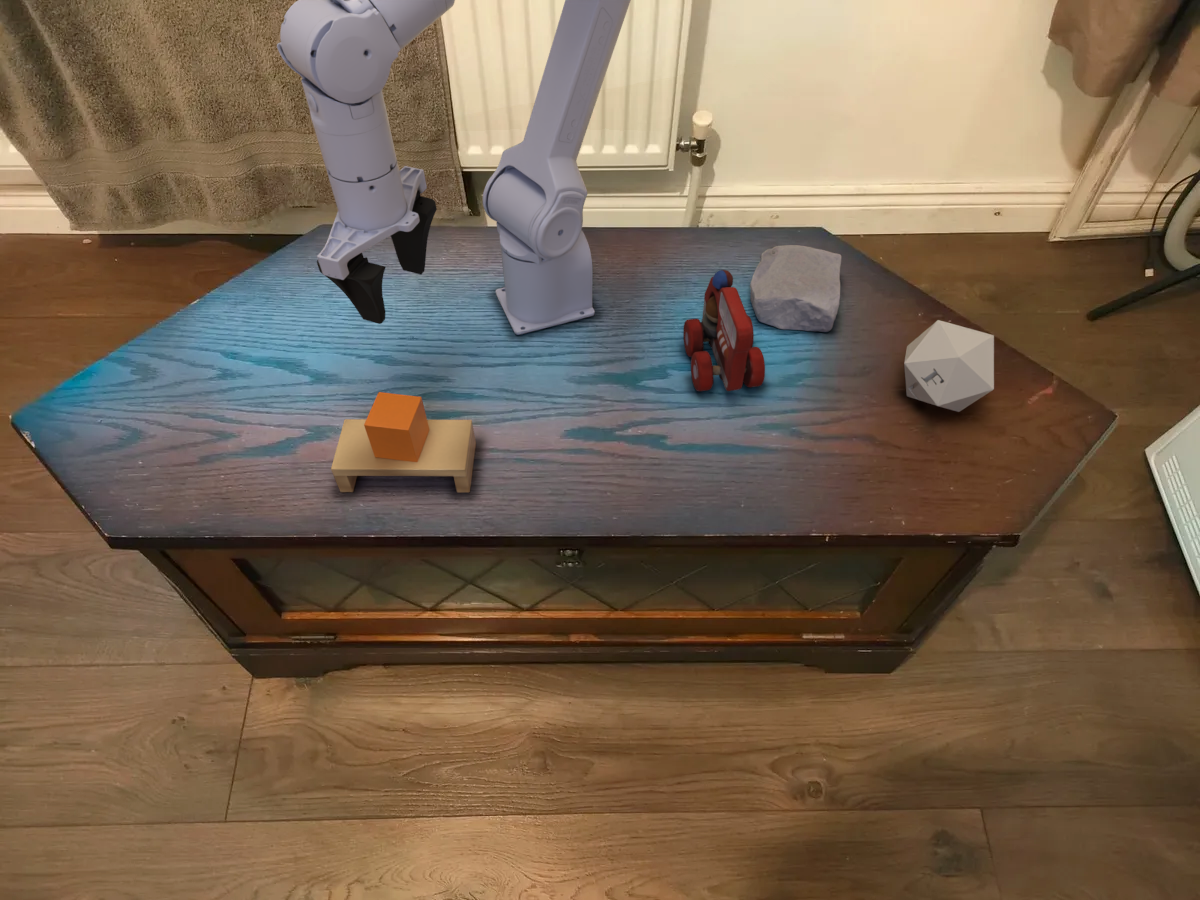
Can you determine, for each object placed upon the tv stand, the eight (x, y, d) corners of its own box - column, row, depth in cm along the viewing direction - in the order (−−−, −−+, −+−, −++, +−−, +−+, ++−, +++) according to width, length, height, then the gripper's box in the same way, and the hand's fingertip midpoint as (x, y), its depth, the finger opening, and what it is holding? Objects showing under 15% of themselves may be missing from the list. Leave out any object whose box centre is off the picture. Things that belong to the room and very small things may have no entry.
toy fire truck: (738, 324, 87) (753, 246, 79) (765, 404, 79) (785, 328, 71) (677, 328, 87) (686, 250, 79) (698, 409, 79) (710, 333, 71)
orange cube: (388, 424, 73) (378, 391, 69) (429, 429, 72) (421, 396, 69) (374, 457, 70) (363, 424, 67) (417, 462, 70) (408, 430, 66)
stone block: (748, 336, 88) (839, 335, 86) (746, 302, 85) (841, 300, 82) (756, 275, 96) (840, 273, 93) (754, 242, 93) (841, 238, 90)
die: (878, 368, 84) (889, 349, 74) (951, 318, 83) (972, 293, 73) (927, 432, 82) (946, 421, 73) (1002, 382, 81) (1031, 365, 71)
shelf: (476, 443, 76) (472, 419, 73) (469, 492, 72) (465, 469, 69) (353, 442, 76) (344, 418, 73) (340, 492, 72) (330, 469, 69)
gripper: (357, 222, 58) (393, 353, 69) (446, 129, 67) (466, 259, 77) (277, 203, 60) (324, 334, 70) (374, 115, 68) (403, 244, 79)
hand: (394, 294), depth 74 cm, fingers open, 7 cm apart
